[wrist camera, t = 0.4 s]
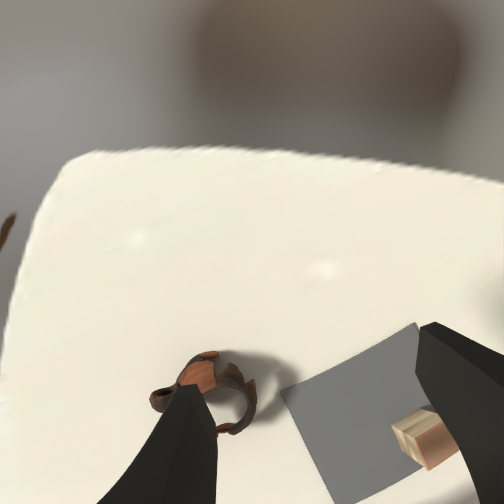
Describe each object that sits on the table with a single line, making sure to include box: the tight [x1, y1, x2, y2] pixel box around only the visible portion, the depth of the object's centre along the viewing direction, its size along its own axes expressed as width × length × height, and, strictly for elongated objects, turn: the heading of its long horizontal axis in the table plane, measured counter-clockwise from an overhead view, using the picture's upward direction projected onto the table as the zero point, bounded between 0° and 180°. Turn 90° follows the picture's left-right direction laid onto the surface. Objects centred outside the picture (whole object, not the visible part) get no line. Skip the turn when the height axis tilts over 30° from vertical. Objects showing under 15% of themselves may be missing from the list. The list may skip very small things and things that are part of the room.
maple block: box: [391, 408, 460, 471], centre depth 26 cm, size 4×4×9 cm
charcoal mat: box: [281, 323, 437, 504], centre depth 32 cm, size 18×18×1 cm
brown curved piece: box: [149, 351, 257, 437], centre depth 34 cm, size 12×10×8 cm
